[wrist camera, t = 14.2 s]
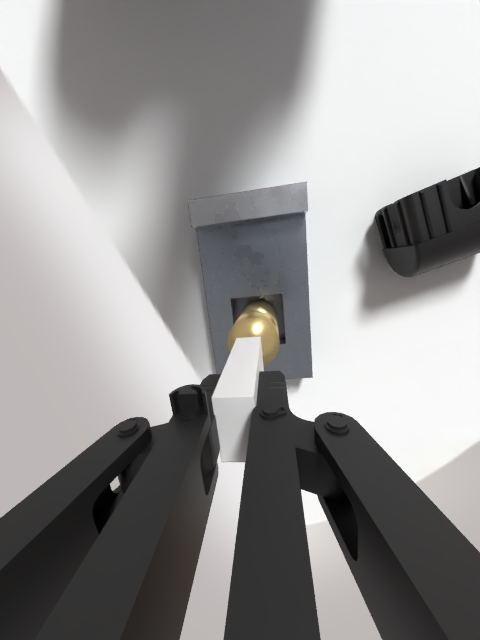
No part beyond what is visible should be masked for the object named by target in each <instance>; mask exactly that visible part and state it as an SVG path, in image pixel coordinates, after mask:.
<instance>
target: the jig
mask: <svg viewBox="0 0 480 640" xmlns="http://www.w3.org/2000/svg"><path fill="white" fill-rule="evenodd" d="M188 206H189V213H190V220H191V226H192V228H195V229H197V236H198V244H199V251H200V258H201V265H202V272H203V279H204V286H205V293H206V300H207V307H208V314H209V322H210V329H211V336H212V343H213V350H214V357H215V364H216V371H217V374H222V372H223V369H224V367H225V365H226V362H227V360H228V357H229V355H230V351H229V348H228V335H229V332H230V330H231V328H232V327H233V325H234V324H235V322H236V321H237V319H238V318H239V316H240V315H241V313H242V312H243V310H244V308H245V307H246V306H247V305H248V304H249V303H250V302H252V301H255V300H263V301H266V302H268V303H270V304H271V305H272V306H273V308H274V309H275V312H276V317H277V325H278V333H279V341H280V345H279V350H278V353H277V355H276V356H275V358H274V359H273V360H272V361H271V362H269V363H268V364H266V365H264V371H281V372H282V373H283V374H284V375H285V379H290V378H313V377H312V355H311V332H310V310H309V288H308V265H307V243H306V221H305V214H306V213H307V211H308V203H307V182H301V183H295V184H289V185H282V186H276V187H270V188H263V189H257V190H251V191H244V192H238V193H232V194H225V195H219V196H213V197H206V198H200V199H194V200H188Z"/></svg>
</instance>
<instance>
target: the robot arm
mask: <svg viewBox="0 0 480 640" xmlns="http://www.w3.org/2000/svg"><path fill="white" fill-rule="evenodd" d="M169 397H170V402H171V407H172V411H173V416H172V418H171V419H170V421H169V423H166V424H162V425H158V426H153V427H150V424H149V422H148V420H147V419H146V418H143V417H135V418H130V419H127V420H125V421H123V422H121V423H119V424H118V425H116V426H115V427H113V428H112V429H111V430H110V431H108V432H107V433H106V434H105V435H103V436H102V437H101V438H100V439H98V440H97V441H96V442H95V443H93V444H92V445H91V446H90V447H88V448H87V449H86V450H85V451H83V452H82V453H81V454H80V455H78V456H77V457H76V458H75V459H74V460H72V461H71V462H70V463H69V464H67V465H66V466H65V467H64V468H62V469H61V470H60V471H59V472H57V473H56V474H55V475H54V476H52V477H51V478H50V479H49V480H47V481H46V482H45V483H44V484H42V485H41V486H40V487H39V488H37V489H36V490H35V491H34V492H33V493H31V494H30V495H29V496H28V497H26V498H25V499H24V500H23V501H21V502H20V503H19V504H17V505H16V506H15V507H14V508H12V509H11V510H10V511H9V512H8V513H6V514H5V515H4V516H3V517H1V518H0V640H179V639H180V635H181V631H182V626H183V622H184V618H185V613H186V609H187V605H188V601H189V597H190V592H191V588H192V584H193V580H194V575H195V571H196V566H197V563H198V559H199V554H200V550H201V546H202V542H203V537H204V533H205V529H206V524H207V520H208V516H209V512H210V507H211V503H212V499H213V495H214V491H215V486H216V482H217V478H218V464H217V459H218V455H219V451H220V456H221V462H245V470H244V478H243V486H242V494H241V502H240V511H239V519H238V527H237V535H236V543H235V551H234V560H233V568H232V576H231V584H230V593H229V601H228V610H227V617H226V626H225V633H224V640H321V639H320V632H319V625H318V617H317V609H316V602H315V594H314V587H313V579H312V572H311V564H310V556H309V549H308V542H307V534H306V528H305V527H306V526H305V519H304V511H303V504H302V496H301V489H302V490H305V491H308V492H311V493H314V494H317V495H318V499H319V502H320V504H321V506H322V508H323V510H324V513H325V515H326V517H327V519H328V521H329V524H330V526H331V528H332V530H333V532H334V535H335V537H336V539H337V541H338V543H339V545H340V548H341V550H342V552H343V554H344V557H345V559H346V561H347V563H348V565H349V567H350V570H351V572H352V574H353V576H354V578H355V580H356V583H357V585H358V587H359V589H360V592H361V594H362V596H363V598H364V600H365V603H366V605H367V607H368V609H369V611H370V613H371V616H372V618H373V620H374V622H375V625H376V627H377V629H378V631H379V633H380V636H381V638H382V639H383V640H480V552H479V551H478V550H477V549H476V548H475V547H474V546H473V545H472V544H471V543H470V542H469V541H468V540H467V538H466V537H465V536H464V535H463V534H462V533H461V532H460V531H459V530H458V529H457V528H456V527H455V526H454V525H453V523H451V521H450V520H449V519H448V518H447V517H446V516H445V515H444V514H443V513H442V512H441V511H440V510H439V509H438V508H437V506H436V505H435V504H434V503H433V502H432V501H431V500H430V499H429V498H428V497H427V496H426V495H425V493H423V491H422V490H421V489H420V488H419V487H418V486H417V485H416V484H415V483H414V482H413V481H412V480H411V478H410V477H409V476H408V475H407V474H406V473H405V472H404V471H403V470H402V469H401V468H400V467H399V466H398V465H397V463H396V462H395V461H394V460H393V459H392V458H391V457H390V456H389V455H388V454H387V453H386V452H385V451H384V450H383V449H382V447H381V446H380V445H379V444H378V443H377V442H376V441H375V440H374V439H373V438H372V437H371V436H370V435H369V434H368V432H367V431H366V430H365V429H364V428H363V427H362V426H361V425H360V424H359V423H358V422H357V421H356V420H354V419H353V418H352V417H350V416H348V415H345V414H342V413H337V412H326V413H323V414H321V415H319V416H318V417H317V418H315V422H311V421H307V420H303V419H301V418H298V417H296V416H295V415H294V414H293V413H292V412H291V411H290V409H289V404H288V397H287V389H286V382H285V375H284V374H283V373H282V372H281V371H264V366H263V356H262V345H261V337H246V338H236V341H235V343H234V346H233V348H232V350H231V353H230V355H229V357H228V360H227V362H226V365H225V367H224V369H223V372H222V374H212V375H208V376H207V377H206V378H205V379H203V380H202V382H201V384H200V385H194V384H192V385H185V386H183V387H180V388H177V389H176V390H174V391H172V392H171V393H170V394H169ZM116 476H118V479H119V482H120V485H119V487H118V488H116V489H115V490H114V491H112V490H111V487H110V483H111V482H112V481H113V480H114V479H115V478H116Z"/></svg>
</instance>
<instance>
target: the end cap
mask: <svg viewBox="0 0 480 640" xmlns="http://www.w3.org/2000/svg"><path fill="white" fill-rule="evenodd" d="M376 221H377V225H378V228H379V232H380V236H381V239H382V243H383V246H384V249H383V252H384V255H385V257H386V259H387V261H388V263H389V264H390V266H391V267H392V269H393V270H394V271H395V272H396V273H398V274H399V275H401V276H404V277H412V276H415V275H418V274H421V273H424V272H426V271H429V270H432V269H435V268H438V267H440V266H443V265H446V264H449V263H452V262H455V261H457V260H460V259H463V258H466V257H469V256H471V255H474V254H477V253H480V167H479V168H477V169H475V170H472V171H470V172H468V173H465V174H463V175H460V176H458V177H456V178H453V179H451V180H448V181H446V180H444V181H441V182H439V183H437V184H434V185H432V186H430V187H427V188H425V189H422V190H420V191H418V192H415V193H413V194H411V195H408V196H406V197H404V198H402V199H400V200H398V201H396V202H395V203H393V204H390V205H388V206H385V207H383V208H381V209H380V210H379V211H377V213H376Z"/></svg>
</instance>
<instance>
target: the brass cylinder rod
mask: <svg viewBox="0 0 480 640" xmlns="http://www.w3.org/2000/svg"><path fill="white" fill-rule="evenodd" d="M246 337H261V345H262V356H263V366H264V365H266V364H268V363H269V362H271V361H272V360H273V359H274V358H275V356H276V355H277V353H278V350H279V345H280V341H279V333H278V325H277V317H276V312H275V309H274V308H273V306H272V305H271V304H270V303H268V302H266V301H263V300H255V301H252V302H250V303H249V304H248V305H247V306H246V307H245V308H244V310H243V312H242V313H241V315H240V316H239V318H238V319H237V321H236V322H235V324H234V325H233V327H232V328H231V330H230V332H229V335H228V348H229V351H230V353H231V350H232V348H233V346H234V343H235V341H236V338H246Z"/></svg>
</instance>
